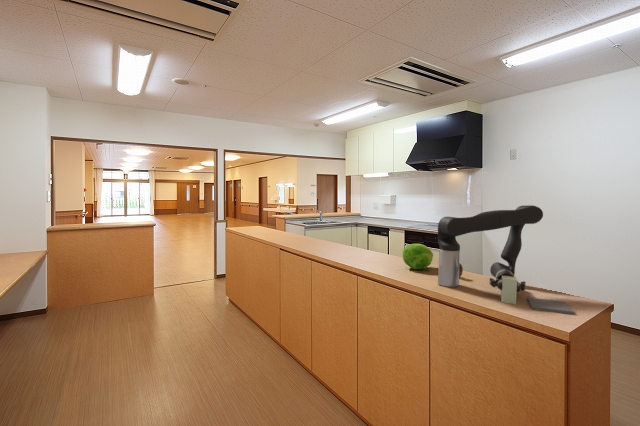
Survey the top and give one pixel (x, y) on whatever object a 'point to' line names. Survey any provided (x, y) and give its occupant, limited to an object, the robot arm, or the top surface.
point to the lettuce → (417, 256)
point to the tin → (460, 269)
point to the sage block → (509, 289)
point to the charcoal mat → (549, 305)
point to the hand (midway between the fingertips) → (509, 288)
